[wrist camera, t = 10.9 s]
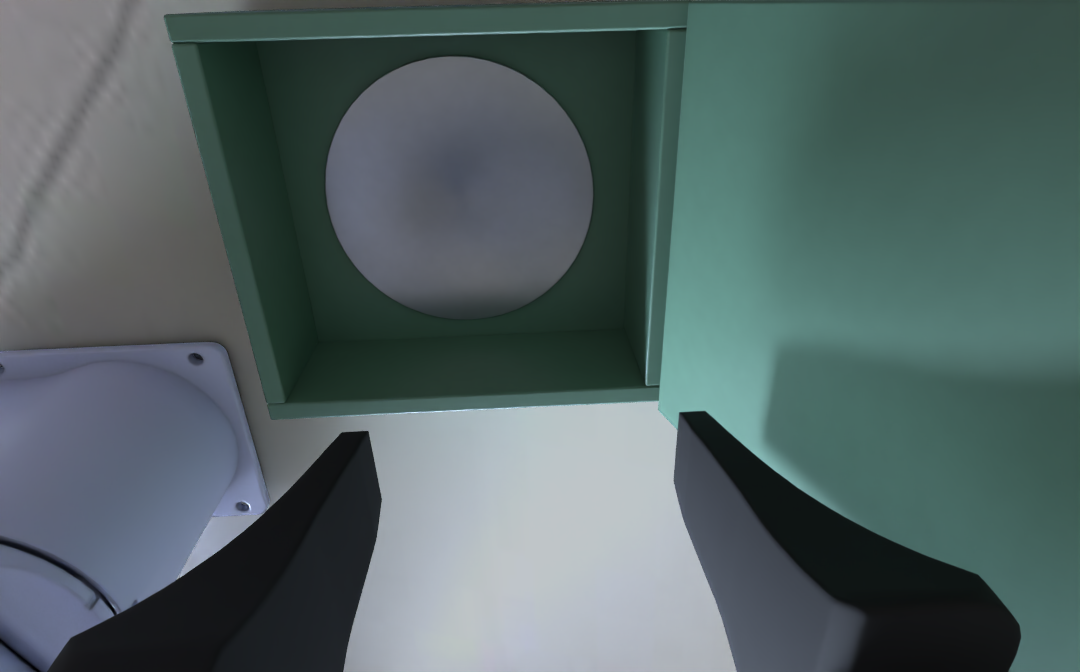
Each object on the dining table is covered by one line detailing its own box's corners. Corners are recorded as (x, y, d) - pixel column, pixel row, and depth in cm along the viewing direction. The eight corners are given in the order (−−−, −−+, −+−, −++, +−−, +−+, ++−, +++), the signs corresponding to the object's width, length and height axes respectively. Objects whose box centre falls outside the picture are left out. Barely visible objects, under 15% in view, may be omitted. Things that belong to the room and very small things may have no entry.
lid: (1129, 897, 9) (1156, 879, 9) (1906, -12, 4) (1929, -13, 4) (656, 410, 20) (674, 406, 20) (687, 0, 15) (710, -1, 15)
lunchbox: (309, 348, 24) (270, 420, 20) (236, 11, 19) (161, 14, 15) (636, 334, 24) (663, 401, 20) (653, 0, 19) (694, 0, 15)
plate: (349, 322, 23) (348, 325, 23) (302, 59, 19) (300, 60, 19) (591, 312, 23) (591, 314, 23) (594, 50, 19) (596, 51, 19)
